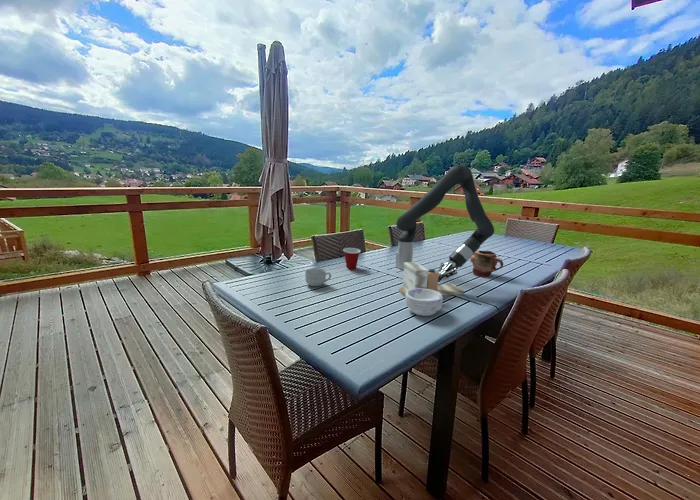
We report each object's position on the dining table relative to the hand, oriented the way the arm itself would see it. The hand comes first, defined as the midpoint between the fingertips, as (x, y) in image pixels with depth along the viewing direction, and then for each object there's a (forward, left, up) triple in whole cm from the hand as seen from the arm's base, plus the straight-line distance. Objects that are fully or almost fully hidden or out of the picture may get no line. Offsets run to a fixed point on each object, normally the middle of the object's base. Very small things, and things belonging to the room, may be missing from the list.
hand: (436, 280), depth 146 cm
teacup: (-47, -36, -6) cm, 60 cm away
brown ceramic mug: (+7, +45, -6) cm, 46 cm away
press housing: (-1, -2, -6) cm, 6 cm away
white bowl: (+8, -24, -6) cm, 26 cm away
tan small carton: (-2, -3, -4) cm, 5 cm away
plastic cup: (-56, -2, -6) cm, 57 cm away
